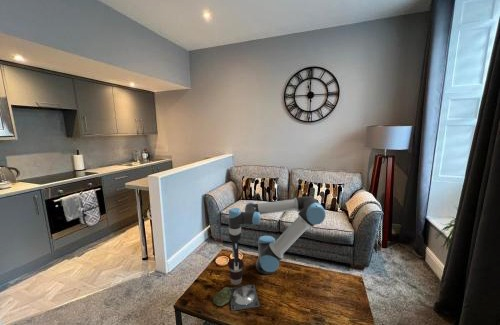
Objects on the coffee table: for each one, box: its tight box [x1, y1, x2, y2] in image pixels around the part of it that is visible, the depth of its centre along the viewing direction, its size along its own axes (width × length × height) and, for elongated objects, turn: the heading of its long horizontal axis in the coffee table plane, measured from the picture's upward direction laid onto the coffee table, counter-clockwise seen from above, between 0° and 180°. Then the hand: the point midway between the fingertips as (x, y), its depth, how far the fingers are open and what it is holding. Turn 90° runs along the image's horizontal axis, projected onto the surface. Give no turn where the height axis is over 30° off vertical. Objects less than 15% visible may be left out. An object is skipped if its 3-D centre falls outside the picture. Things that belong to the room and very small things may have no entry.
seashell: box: [212, 286, 231, 307], centre depth 125 cm, size 10×7×10 cm
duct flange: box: [228, 284, 260, 312], centre depth 126 cm, size 16×16×2 cm
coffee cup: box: [227, 257, 244, 286], centre depth 138 cm, size 10×10×15 cm
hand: (235, 262), depth 137 cm, fingers open, 13 cm apart
